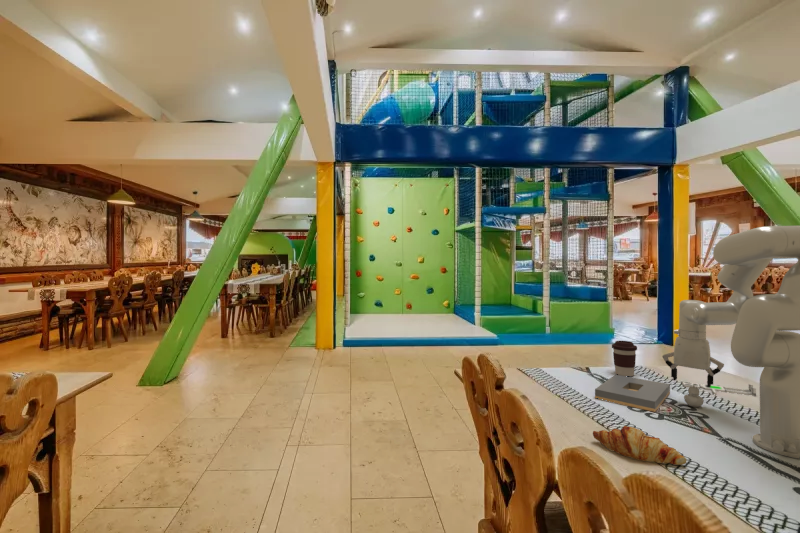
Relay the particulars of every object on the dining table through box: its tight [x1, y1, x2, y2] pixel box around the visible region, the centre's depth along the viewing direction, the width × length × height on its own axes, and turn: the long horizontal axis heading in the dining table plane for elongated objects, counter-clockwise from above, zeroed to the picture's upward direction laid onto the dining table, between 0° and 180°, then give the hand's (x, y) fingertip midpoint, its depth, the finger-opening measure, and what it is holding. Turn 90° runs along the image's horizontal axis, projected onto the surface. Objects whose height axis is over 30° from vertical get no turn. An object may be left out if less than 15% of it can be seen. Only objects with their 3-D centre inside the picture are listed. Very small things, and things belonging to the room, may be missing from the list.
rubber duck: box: [683, 384, 705, 408], centre depth 132 cm, size 5×7×8 cm
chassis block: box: [594, 374, 671, 413], centre depth 142 cm, size 26×19×4 cm
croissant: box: [592, 425, 687, 466], centre depth 99 cm, size 21×10×8 cm, turn 50°
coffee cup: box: [611, 340, 638, 377], centre depth 170 cm, size 10×10×15 cm
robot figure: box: [681, 381, 757, 397], centre depth 149 cm, size 16×3×22 cm
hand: (691, 382), depth 133 cm, fingers open, 9 cm apart
